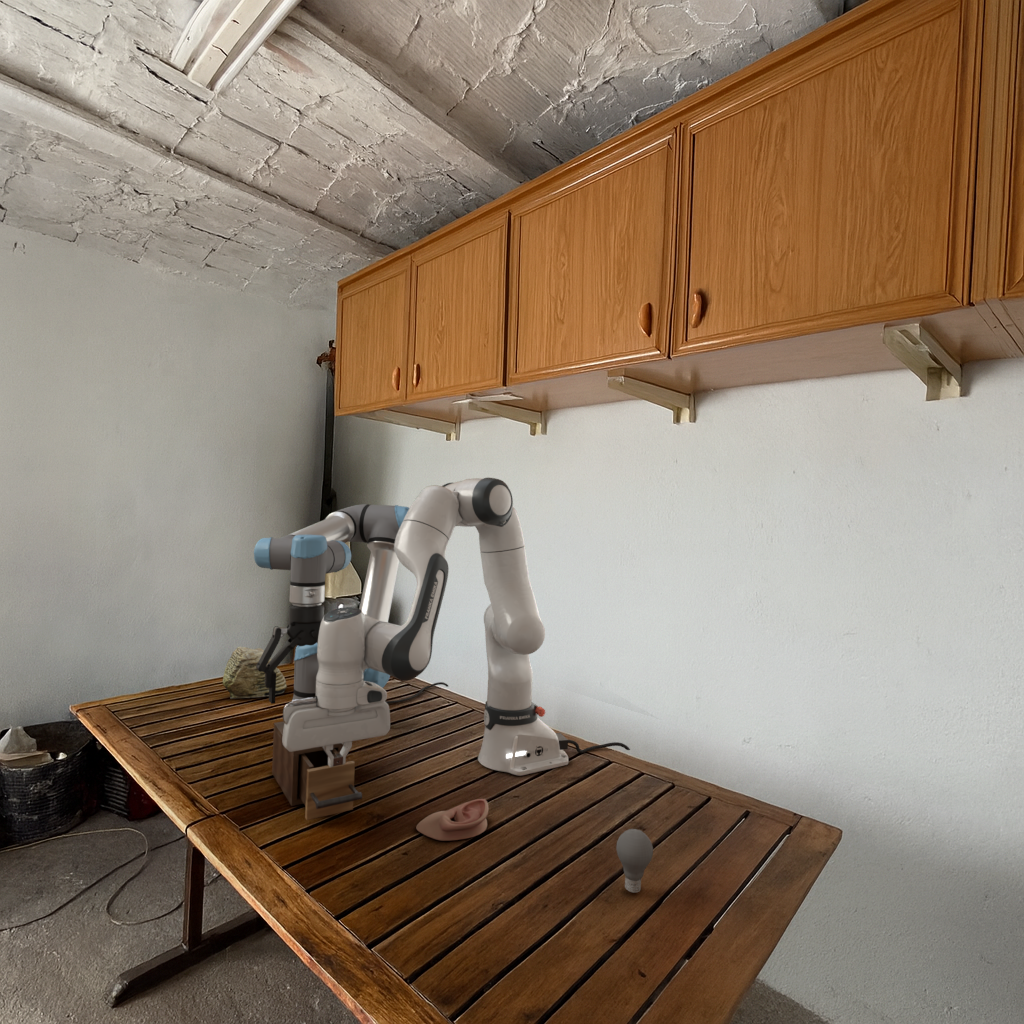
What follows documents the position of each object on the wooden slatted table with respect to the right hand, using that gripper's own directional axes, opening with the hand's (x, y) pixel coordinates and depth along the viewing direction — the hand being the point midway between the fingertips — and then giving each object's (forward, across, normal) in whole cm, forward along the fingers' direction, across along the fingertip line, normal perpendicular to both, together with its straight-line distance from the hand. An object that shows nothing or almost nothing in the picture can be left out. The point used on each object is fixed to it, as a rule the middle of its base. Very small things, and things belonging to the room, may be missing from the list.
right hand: (336, 764), depth 122 cm
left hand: (-6, 0, +25) cm, 25 cm away
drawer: (+11, 0, +8) cm, 14 cm away
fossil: (+12, +3, +89) cm, 90 cm away
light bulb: (+12, +37, -44) cm, 58 cm away
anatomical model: (+12, +20, -11) cm, 26 cm away
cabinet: (+12, 0, +20) cm, 24 cm away
